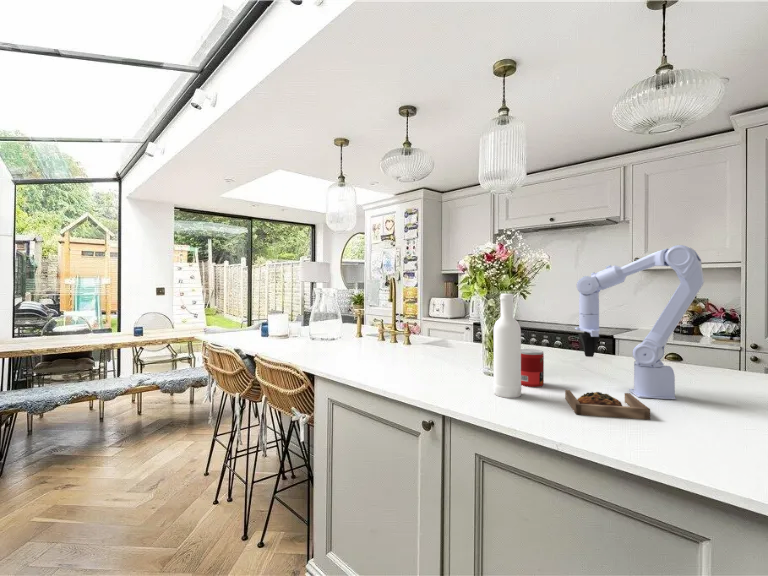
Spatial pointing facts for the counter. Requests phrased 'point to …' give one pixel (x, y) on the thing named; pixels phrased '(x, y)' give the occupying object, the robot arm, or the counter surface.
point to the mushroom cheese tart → (598, 399)
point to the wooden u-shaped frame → (610, 408)
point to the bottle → (507, 351)
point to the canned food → (532, 367)
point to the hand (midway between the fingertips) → (589, 356)
